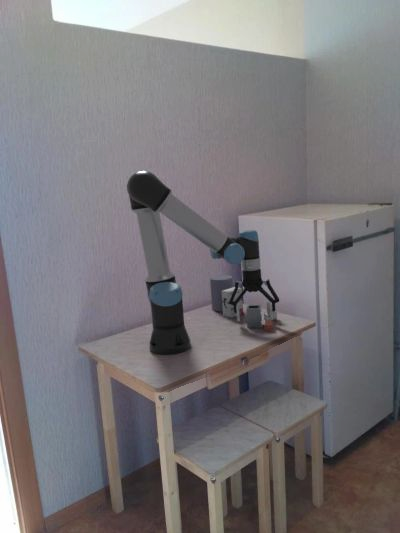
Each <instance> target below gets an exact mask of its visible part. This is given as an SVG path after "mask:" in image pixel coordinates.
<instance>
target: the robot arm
mask: <svg viewBox="0 0 400 533" xmlns="http://www.w3.org/2000/svg"><path fill="white" fill-rule="evenodd" d="M126 191H127V193H128V197H129V202H130V208H131V211H132V212H133V213H135V214H136V218H137V222H138V228H139V234H140V238H141V243H142V244H141V245H142V248H143V249H142V250H143V255H144V260H145V265H146V271H147V276H146V277H145V285H146V293H147V299H148V301H149V305H150V311H151V313H150V314H151V321H152V323H151V324H152V331H151V336H150V340H149V350H150V352H152V353H154V354H157V355H175V354H179V353H183V352H186V351H187V350H189V349H190V348H191V338H190V336H189V333H188V331H187V328H186V325H185V317H184V316H185V315H184V304H183V303H184V302H183V291H182V287H181V285H180V284H178V283H177V281H176V274H175V273H173V272H172V271H171V268H170V263H169V259H168V252H167V246H166V242H165V237H164V230H163V225H162V220H161V219H162V218H161V214H162V215H163V216H165V217H166V218H167V219H169V220H170V221H171V222H172V223H174V224H175V225H177V226H178V227H179V228H181V229H182V230H184V231H185V232H187V233H188V234H189V235H190V236H192V237H193V238H194V239H195V240H197V241H199V242H200V243H201V244H203V245H204V246H205V247H207V248H208V249H209V253H210V257H211V258H212V259H214V260H220V259H223V260H224V261H225V262H227V264H230V265H238V264H241V269H242V270H241V273H242V274H241V276H242V281H239V280H236V281H235V283H234V287H235V289H234V291H233V294H232V296H231V298H230V301H229V304H231V305H233V306H234V313H237V316H236V320H237V322H240V321H241V314H240V312H239V304H237V303H238V302H239V301H240V299H241V298H242V299H243V297H244V295H245V294H246V293H247V292H248V293H257V292H259V293H261V294H262V295H263V296H264V297H265V298H266V300H267V301H270V302H271V303H270V312H271V320H273V312H276V303H279V302H280V298H279V296H278V295H277V293H276V291H275V289H274V288H273V286H272V284H271V281H270V279H265V280H263V279H262V278H263V277H262V269H261V257H260V245H259V243H260V241H259V240H260V239H259V235H258V231H257V230H255V229H247V230H246V229H245V230H240V231H239V232H238V236H235V237H229V236H228V235H227V234H225V233H224V232H223V231H221V229H219V228H217V227H216V226H215V225H214V224H212V223H211V222H209V220H207V219H205V218H204V217H203V216H201V215H200V214H199V213H197V211H195V210H193V209H192V208H191V207H190V206H188V205H187V204H185V203H184V202H183V201H182V200H180V199H179V198H178V197H177V196H175V195H174V194H173V191H172V189H170V187H168V186H167V185H166V184H164V182H162V181H161V180H160V178H159V177H158V176H156V175H155V174H154V173H153V172H151V171H147V170H142V171H137V172H135V173H134V174H132V175H131V176H130V177H129V179H128V181H127V184H126ZM160 213H161V214H160ZM263 284H264V286H266V287H267V289H268V291H269V292H270V294H271V295H270V294H269V293H268V291H267V290H265V288H264V287H263ZM241 286H242V287H243V288H244V289H242V292H241V294H240V295H239V296H238V298H237V299H236V300H235V301H233V299H234V297H235V295H236V292H237V290H238V288H241Z"/></svg>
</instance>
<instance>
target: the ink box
mask: <svg viewBox="0 0 400 533" xmlns="http://www.w3.org/2000/svg"><path fill="white" fill-rule="evenodd" d="M234 289H235V286H233V288H230V289H226V290H223V291H222V306H223V311H222V316H223V317H225V316H227V317H226V318H230V317H231V318H233V316H234V317H236V316H235V315H237V313H234V306H233V305H231V304H229V301H230V298H231V296H232V294H233V291H234ZM242 291H243V288H242V287H238V290H237V292H236V295H235V297H234V299H233V301H235V300H236V299H237V298H238V296H239V295H240V294H241V292H242ZM243 299H244V298H243V297H242V298H241V299H240V301H239V302H238V303H237V304H239V312H240V313H242V314H244V306H243V305H244V303H243Z"/></svg>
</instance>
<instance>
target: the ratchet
mask: <svg viewBox="0 0 400 533" xmlns="http://www.w3.org/2000/svg"><path fill="white" fill-rule="evenodd" d="M270 303H271V302H270V301H269V300H266V311H264V312H263V320H265V321H264V325H263V326H264V332H267V333H268V332H271V333H272V332H273V329H274V322H276V321H275V320H277V321H278V312H276V311H274V312H273V320H271V312H270ZM273 321H274V322H273Z"/></svg>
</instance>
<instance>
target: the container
mask: <svg viewBox="0 0 400 533" xmlns="http://www.w3.org/2000/svg"><path fill="white" fill-rule="evenodd" d="M209 281H210V282H209V283H210V286H209V287H210V298H211V300H210V301H211V310H213V311H215V312H223V306H222V291H223V290H226V289H230V288H233V287H234V285H233V276H232V275H225V274H223V275H222V274H221V275H214V276H211V277H210V278H209Z"/></svg>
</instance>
